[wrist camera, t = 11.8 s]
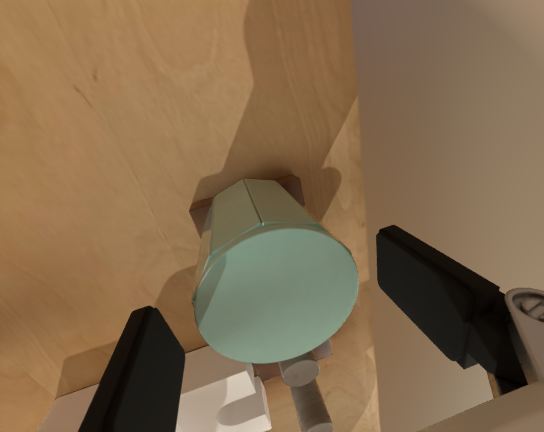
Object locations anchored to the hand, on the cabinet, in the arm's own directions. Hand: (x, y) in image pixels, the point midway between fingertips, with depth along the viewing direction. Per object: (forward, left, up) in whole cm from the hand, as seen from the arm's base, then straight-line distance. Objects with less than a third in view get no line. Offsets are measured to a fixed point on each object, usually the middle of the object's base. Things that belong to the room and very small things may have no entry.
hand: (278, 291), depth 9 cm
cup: (0, 0, -8) cm, 8 cm away
